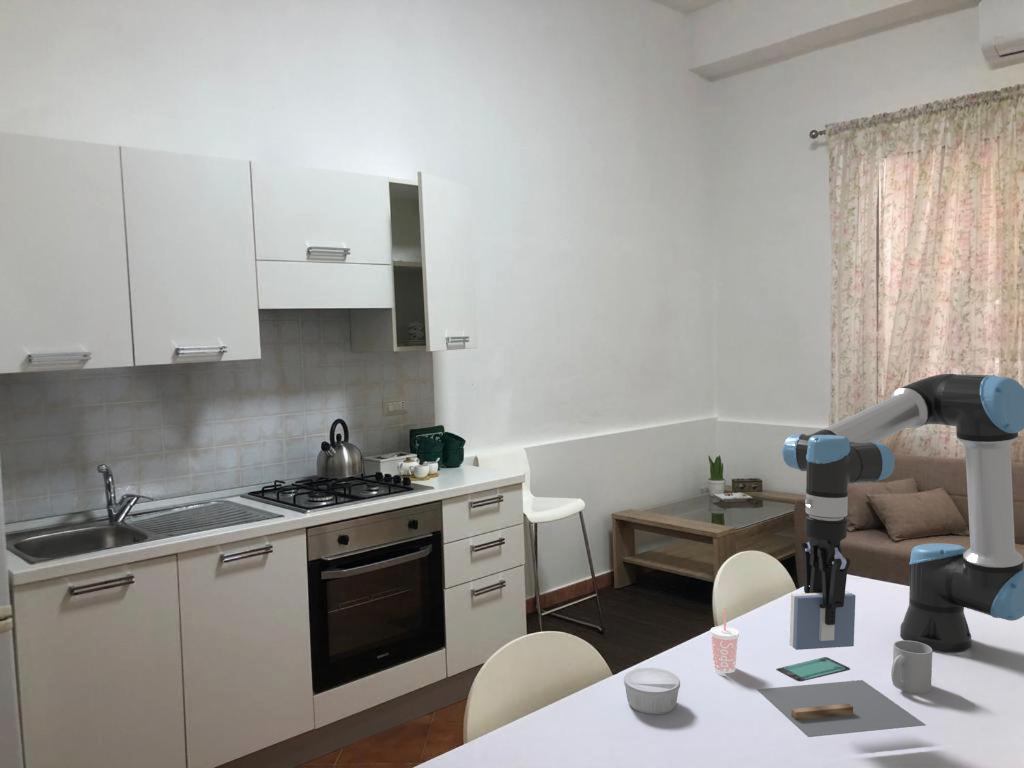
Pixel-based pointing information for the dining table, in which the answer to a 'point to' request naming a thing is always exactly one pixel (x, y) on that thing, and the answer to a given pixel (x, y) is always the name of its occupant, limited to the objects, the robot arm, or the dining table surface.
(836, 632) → the blue-grey flat block
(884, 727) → the mat
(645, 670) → the ramekin
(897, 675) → the cup
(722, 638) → the beverage cup
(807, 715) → the strip
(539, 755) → the dining table surface
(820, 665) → the smartphone
